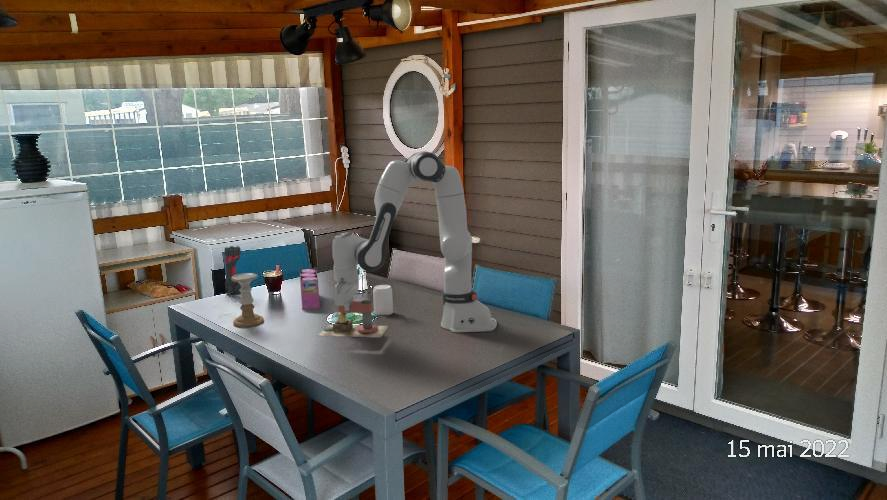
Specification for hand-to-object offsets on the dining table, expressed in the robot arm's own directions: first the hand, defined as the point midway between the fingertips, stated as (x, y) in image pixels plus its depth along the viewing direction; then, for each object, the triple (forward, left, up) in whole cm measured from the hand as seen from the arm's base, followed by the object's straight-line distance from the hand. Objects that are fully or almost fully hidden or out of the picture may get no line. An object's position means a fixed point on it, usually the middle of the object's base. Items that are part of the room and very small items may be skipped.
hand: (347, 309), depth 247 cm
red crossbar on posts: (-3, -3, -9) cm, 10 cm away
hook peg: (+3, -3, -9) cm, 10 cm away
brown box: (+3, -3, -9) cm, 10 cm away
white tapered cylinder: (-7, -28, -11) cm, 30 cm away
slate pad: (+9, -3, -9) cm, 13 cm away
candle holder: (+47, -12, -11) cm, 50 cm away
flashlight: (+74, -55, -10) cm, 93 cm away
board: (-1, -2, -10) cm, 11 cm away
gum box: (+32, -43, -11) cm, 54 cm away
